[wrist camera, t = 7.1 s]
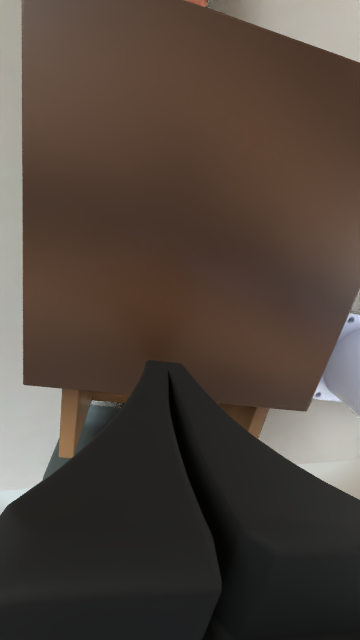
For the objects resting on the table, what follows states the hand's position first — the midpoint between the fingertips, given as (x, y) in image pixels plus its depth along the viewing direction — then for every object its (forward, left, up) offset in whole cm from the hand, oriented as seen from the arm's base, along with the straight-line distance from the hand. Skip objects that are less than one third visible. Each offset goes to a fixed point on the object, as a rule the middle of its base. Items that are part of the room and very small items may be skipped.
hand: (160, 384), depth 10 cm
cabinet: (-1, -5, -10) cm, 11 cm away
